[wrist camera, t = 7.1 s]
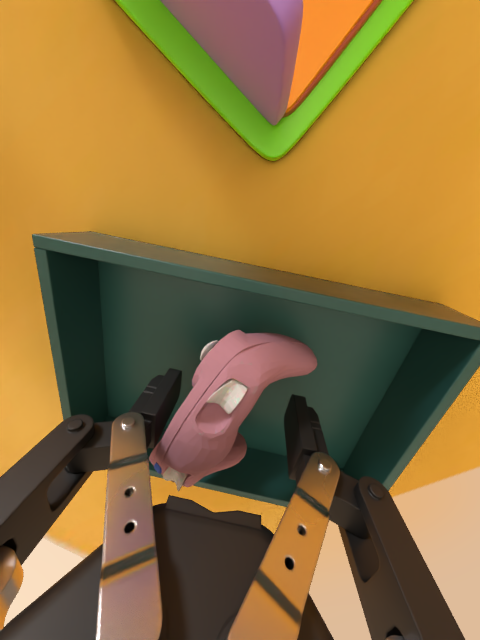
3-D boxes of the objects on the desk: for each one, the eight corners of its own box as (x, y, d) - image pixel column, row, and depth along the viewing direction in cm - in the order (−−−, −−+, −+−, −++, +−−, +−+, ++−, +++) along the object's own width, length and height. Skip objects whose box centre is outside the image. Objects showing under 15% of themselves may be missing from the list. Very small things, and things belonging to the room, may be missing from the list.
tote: (90, 231, 14) (30, 233, 10) (442, 304, 13) (505, 332, 10) (104, 416, 20) (69, 457, 16) (346, 471, 19) (363, 525, 16)
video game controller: (263, 305, 14) (186, 324, 8) (328, 351, 13) (290, 415, 7) (202, 408, 18) (119, 472, 12) (246, 452, 17) (176, 551, 11)
